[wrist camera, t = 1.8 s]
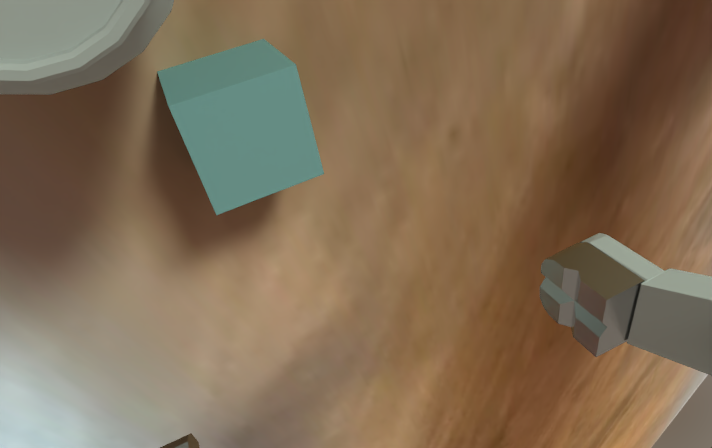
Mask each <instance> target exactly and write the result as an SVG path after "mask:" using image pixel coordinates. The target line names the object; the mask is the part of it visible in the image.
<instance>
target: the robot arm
mask: <svg viewBox="0 0 712 448" xmlns="http://www.w3.org/2000/svg"><path fill="white" fill-rule="evenodd" d="M541 273H542V274H543V275H544V276H545V277H546V278H545V279H544V281H543V283H542V284H541V286H540V299H541V301H542V304H543V306H544V308H545V310H546V311H547V312H548V314H549V315H550V316H551V317H552V318H553V319H554V320H555V321H556V322H557V323H558V324H562V325H565V326H569V327H571V329H572V334H573V337H574V338H575V339H576V340H577V341H578V342H580V343H581V344H582V345H583V346H584V347H585V348H586V349H587V350H589V351H590V352H591V353H592V354H593V355H594V356H595V357H597V356H599V355H601V354H603V353H605V352H607V351H609V350H611V349H613V348H615V347H616V346H618V345H620V344H622V343H624V342H626V341H627V343H628V344H630V345H633V346H636V347H638V348H641V349H644V350H646V351H649V352H651V353H654V354H657V355H659V356H662V357H664V358H667V359H670V360H672V361H675V362H678V363H680V364H683V365H685V366H688V367H691V368H693V369H696V370H698V371H701V372H704V373H706V374H709V375H712V277H711V276H706V275H701V274H696V273H691V272H686V271H681V270H676V269H671V268H670V269H667V270H665V271H664V270H662V269H661V268H659V267H658V266H656V265H654V264H653V263H651V262H650V261H648V260H647V259H645V258H643V257H642V256H640V255H639V254H637V253H635V252H634V251H632V250H631V249H629V248H627V247H626V246H624V245H623V244H621V243H619V242H618V241H616V240H615V239H613V238H611V237H610V236H608V235H606V234H602V233H598V234H596V235H594V236H592V237H590V238H588V239H586V240H584V241H582V242H580V243H576V244H574V245H572V246H570V247H568V248H566V249H565V250H563V251H561V252H559V253H557V254H555V255H553V256H551V257H549V258H547V259H545V260H544V262H543V263H542V266H541ZM160 448H199V443H198V441H197V440H196V439H195V437H194V436H193V435H192V434H189V435H186V436H184V437H182V438H180V439H178V440H176V441H173V442H171V443H169V444H167V445H165V446H163V447H160ZM711 448H712V447H711Z"/></svg>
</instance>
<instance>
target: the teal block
mask: <svg viewBox="0 0 712 448" xmlns="http://www.w3.org/2000/svg"><path fill="white" fill-rule="evenodd" d="M157 73H158V76H159V79H160V82H161V85H162V88H163V91H164V94H165V97H166V100H167V103H168V106H169V109H170V111H171V113H172V116H173V118H174V120H175V122H176V125H177V127H178V129H179V131H180V134H181V136H182V138H183V140H184V143H185V145H186V147H187V149H188V152H189V154H190V156H191V159H192V161H193V163H194V165H195V168H196V170H197V172H198V174H199V177H200V179H201V181H202V183H203V186H204V188H205V190H206V192H207V195H208V197H209V199H210V202H211V204H212V206H213V208H214V211H215V213H216V215H219V214H221V213H224V212H226V211H229V210H231V209H234V208H237V207H239V206H242V205H244V204H247V203H250V202H252V201H255V200H257V199H260V198H263V197H265V196H268V195H270V194H273V193H276V192H278V191H281V190H283V189H286V188H289V187H291V186H294V185H296V184H299V183H301V182H304V181H307V180H309V179H312V178H314V177H317V176H320V175H322V174H324V172H323V168H322V164H321V160H320V156H319V152H318V148H317V145H316V141H315V137H314V133H313V129H312V125H311V121H310V117H309V114H308V110H307V106H306V102H305V98H304V94H303V90H302V86H301V83H300V79H299V75H298V71H297V67H296V64H294V63H293V62H292V61H291V60H289V59H288V58H287V57H286V56H284V55H283V54H282V53H281V52H279V51H278V50H277V49H276V48H274V47H273V46H272V45H271V44H269V43H268V42H267V41H266V40H264V39H262V40H259V41H255V42H252V43H249V44H246V45H242V46H239V47H236V48H233V49H229V50H226V51H223V52H220V53H216V54H213V55H210V56H207V57H203V58H200V59H197V60H194V61H190V62H187V63H184V64H181V65H177V66H174V67H171V68H168V69H164V70H161V71H158V72H157Z"/></svg>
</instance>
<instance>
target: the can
mask: <svg viewBox="0 0 712 448" xmlns="http://www.w3.org/2000/svg"><path fill="white" fill-rule="evenodd" d="M173 2H174V0H0V94H44V95H51V94H55V93H58V92H62V91H65V90H69V89H72V88H76V87H79V86H83V85H86V84H90V83H93V82H97V81H100V80H103V79H104V78H106V77H107V76H109V75H110V74H112V73H113V72H114V71H116V70H117V69H119V68H120V67H122V66H123V65H125V64H126V63H127V62H129V61H130V60H132V59H133V58H135V57H136V56H137V55H139V54H140V53H142V52H143V51H144V50H145V48H146V47H147V45H148V44H149V42H150V41H151V39H152V38H153V37H154V35H155V34H156V32H157V31H158V29H159V28H160V26H161V25H162V24H163V22H164V21H165V19H166V18H167V16H168V15H169V13H170V12H171V10H172V6H173Z"/></svg>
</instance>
